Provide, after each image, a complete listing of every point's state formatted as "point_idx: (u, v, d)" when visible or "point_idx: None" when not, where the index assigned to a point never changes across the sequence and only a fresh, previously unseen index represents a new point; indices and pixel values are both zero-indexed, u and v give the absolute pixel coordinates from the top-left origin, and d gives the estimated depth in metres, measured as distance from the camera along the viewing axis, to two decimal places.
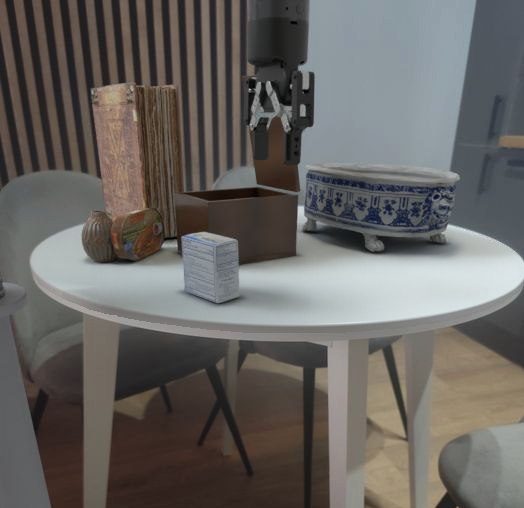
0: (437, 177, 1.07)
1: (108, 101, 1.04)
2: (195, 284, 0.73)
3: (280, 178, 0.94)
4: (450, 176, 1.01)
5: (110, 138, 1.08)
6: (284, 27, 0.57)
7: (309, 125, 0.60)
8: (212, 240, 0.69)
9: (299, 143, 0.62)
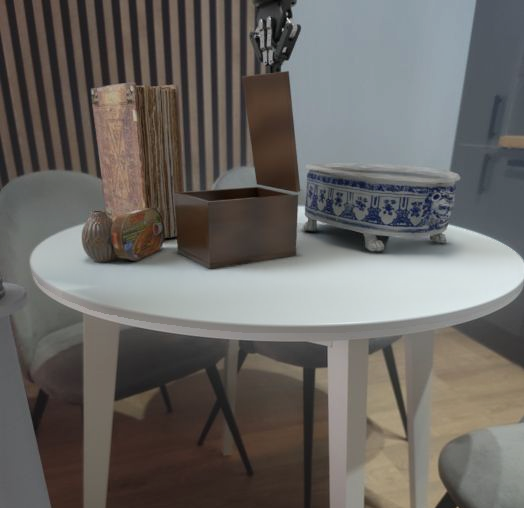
0: (438, 177, 1.07)
1: (108, 101, 1.04)
2: None
3: (280, 178, 0.94)
4: (450, 176, 1.01)
5: (110, 138, 1.08)
6: None
7: (285, 60, 0.85)
8: None
9: None
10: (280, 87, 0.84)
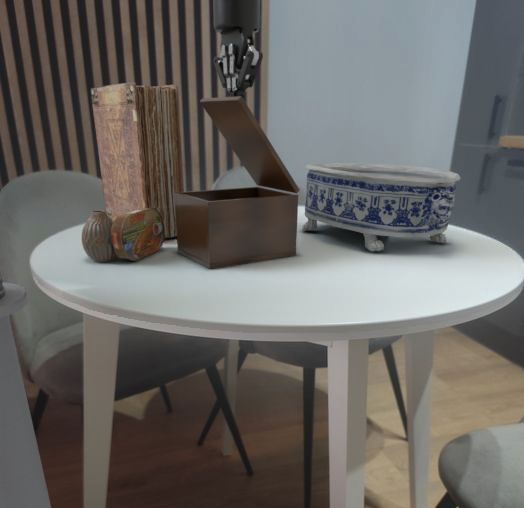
0: (438, 177, 1.07)
1: (108, 101, 1.04)
2: None
3: (276, 182, 0.94)
4: (451, 176, 1.01)
5: (110, 138, 1.08)
6: (241, 2, 0.77)
7: (248, 87, 0.84)
8: None
9: None
10: (240, 112, 0.82)
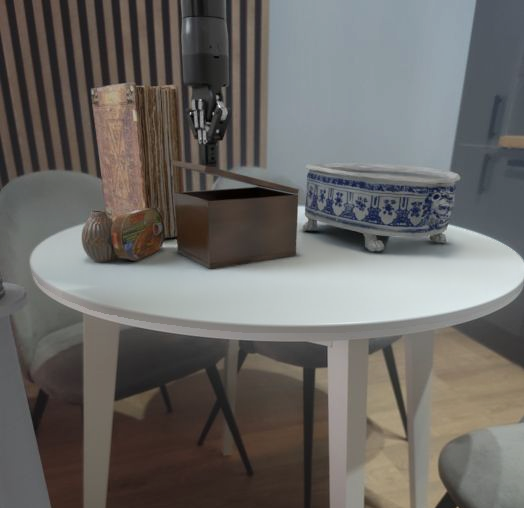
0: (438, 177, 1.07)
1: (108, 101, 1.04)
2: None
3: (274, 189, 0.94)
4: (451, 176, 1.01)
5: (110, 138, 1.08)
6: (209, 60, 0.78)
7: (219, 140, 0.84)
8: None
9: (214, 151, 0.86)
10: (212, 173, 0.83)
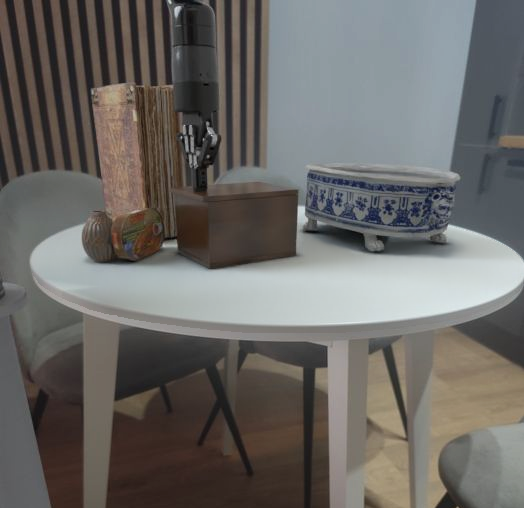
0: (438, 177, 1.07)
1: (108, 101, 1.04)
2: None
3: None
4: (451, 176, 1.01)
5: (110, 138, 1.08)
6: (199, 88, 0.78)
7: None
8: None
9: (205, 176, 0.86)
10: None
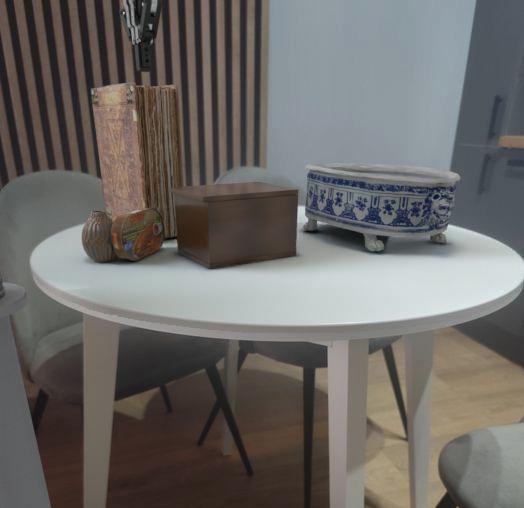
0: (438, 177, 1.07)
1: (108, 101, 1.04)
2: None
3: None
4: (451, 176, 1.01)
5: (110, 138, 1.08)
6: None
7: (152, 38, 0.79)
8: None
9: (149, 52, 0.80)
10: None
